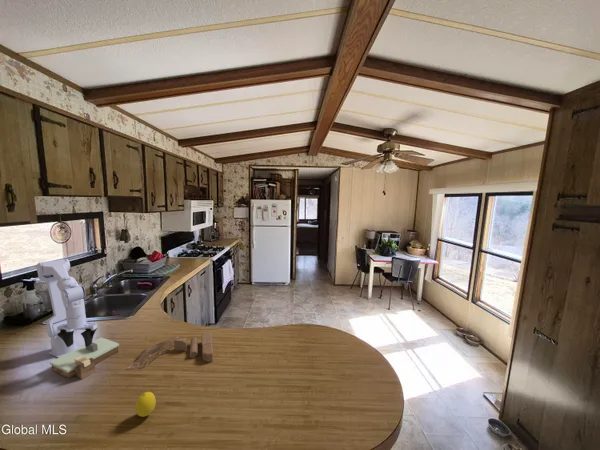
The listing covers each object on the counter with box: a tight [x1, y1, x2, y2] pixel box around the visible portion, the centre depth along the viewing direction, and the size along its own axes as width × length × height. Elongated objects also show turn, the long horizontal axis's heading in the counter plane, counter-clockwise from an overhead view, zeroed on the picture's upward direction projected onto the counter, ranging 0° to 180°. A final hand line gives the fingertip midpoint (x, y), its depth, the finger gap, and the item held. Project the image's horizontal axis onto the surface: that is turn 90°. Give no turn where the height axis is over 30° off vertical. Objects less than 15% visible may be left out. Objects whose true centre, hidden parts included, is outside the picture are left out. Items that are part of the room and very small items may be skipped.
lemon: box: [135, 391, 157, 418], centre depth 76 cm, size 6×6×8 cm
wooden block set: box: [174, 332, 214, 363], centre depth 106 cm, size 17×6×18 cm
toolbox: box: [51, 346, 119, 380], centre depth 101 cm, size 18×18×6 cm
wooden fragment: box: [126, 335, 179, 370], centre depth 109 cm, size 26×11×1 cm, turn 158°
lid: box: [49, 336, 120, 373], centre depth 102 cm, size 14×19×4 cm
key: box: [74, 356, 91, 367], centre depth 95 cm, size 7×2×2 cm, turn 68°
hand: (79, 345), depth 97 cm, fingers open, 7 cm apart
